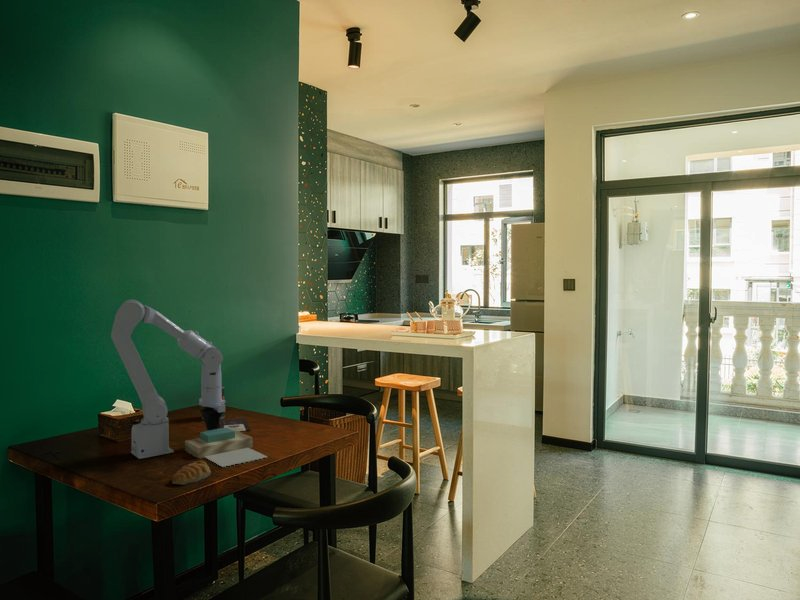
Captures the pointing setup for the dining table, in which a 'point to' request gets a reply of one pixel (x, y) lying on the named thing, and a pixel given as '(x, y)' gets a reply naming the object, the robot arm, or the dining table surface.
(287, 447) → the dining table surface
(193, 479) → the pastry
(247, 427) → the chocolate bar
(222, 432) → the tile
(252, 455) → the mat
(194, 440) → the beige flat block
